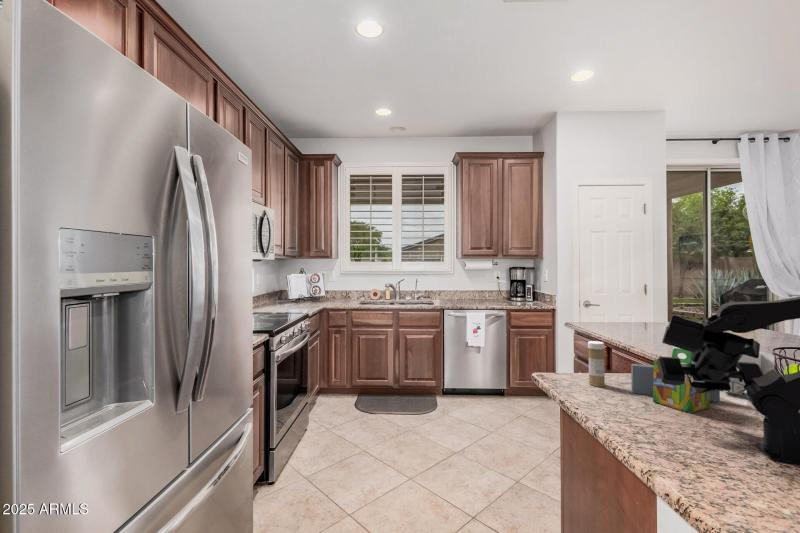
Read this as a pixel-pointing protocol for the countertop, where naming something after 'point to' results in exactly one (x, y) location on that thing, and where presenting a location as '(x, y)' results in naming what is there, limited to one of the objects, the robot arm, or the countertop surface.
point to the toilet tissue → (760, 361)
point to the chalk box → (679, 390)
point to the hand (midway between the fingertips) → (697, 391)
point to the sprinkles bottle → (596, 363)
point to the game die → (737, 387)
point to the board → (644, 381)
